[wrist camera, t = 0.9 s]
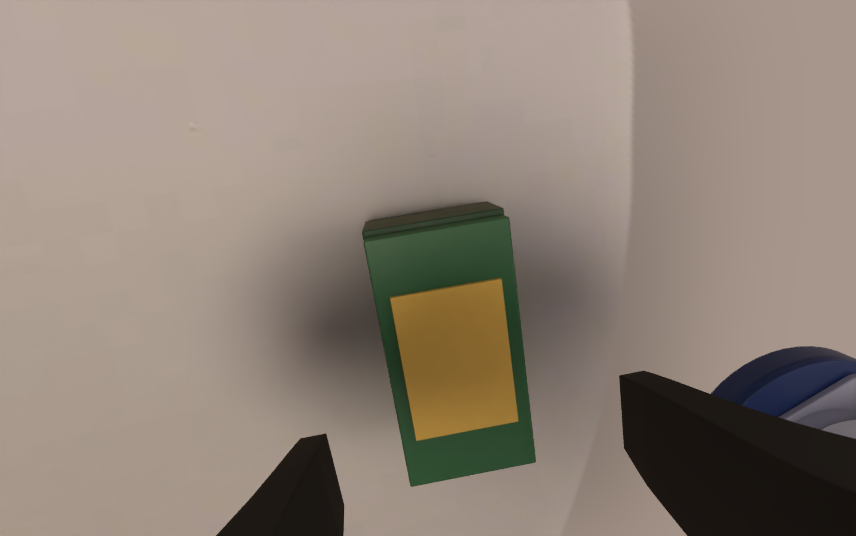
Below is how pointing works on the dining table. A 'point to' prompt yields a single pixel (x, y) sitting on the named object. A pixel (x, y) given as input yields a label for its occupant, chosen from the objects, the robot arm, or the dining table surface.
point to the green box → (452, 339)
